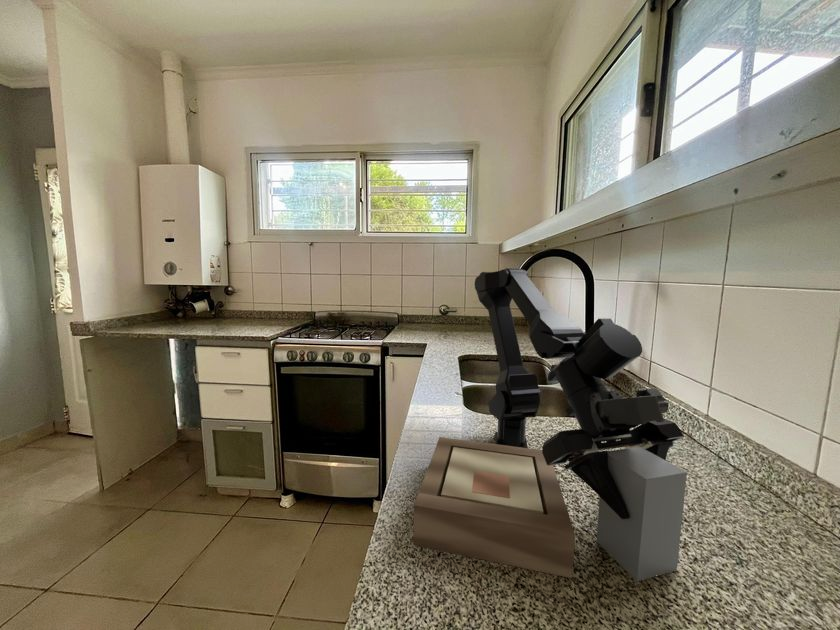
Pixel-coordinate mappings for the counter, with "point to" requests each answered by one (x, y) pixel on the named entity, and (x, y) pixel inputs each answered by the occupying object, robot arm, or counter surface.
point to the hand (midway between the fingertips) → (649, 513)
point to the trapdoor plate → (492, 480)
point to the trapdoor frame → (495, 518)
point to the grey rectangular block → (644, 513)
